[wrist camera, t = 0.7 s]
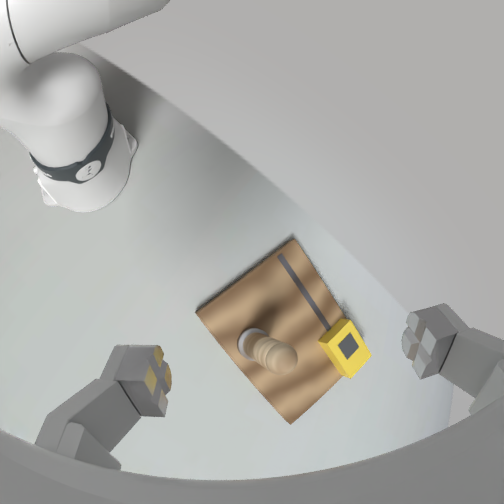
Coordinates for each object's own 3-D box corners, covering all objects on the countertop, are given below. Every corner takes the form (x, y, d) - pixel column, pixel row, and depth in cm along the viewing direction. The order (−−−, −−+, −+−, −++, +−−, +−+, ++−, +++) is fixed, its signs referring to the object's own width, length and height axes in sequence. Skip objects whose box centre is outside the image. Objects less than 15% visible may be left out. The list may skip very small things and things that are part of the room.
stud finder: (317, 341, 45) (327, 343, 42) (340, 318, 47) (351, 319, 44) (340, 374, 46) (351, 378, 43) (361, 352, 48) (372, 355, 45)
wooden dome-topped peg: (230, 341, 41) (258, 361, 29) (255, 321, 43) (292, 332, 30) (249, 364, 41) (283, 391, 29) (273, 344, 43) (314, 363, 31)
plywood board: (195, 312, 42) (196, 313, 40) (289, 240, 48) (295, 238, 46) (285, 420, 44) (290, 424, 42) (359, 349, 50) (366, 351, 48)
